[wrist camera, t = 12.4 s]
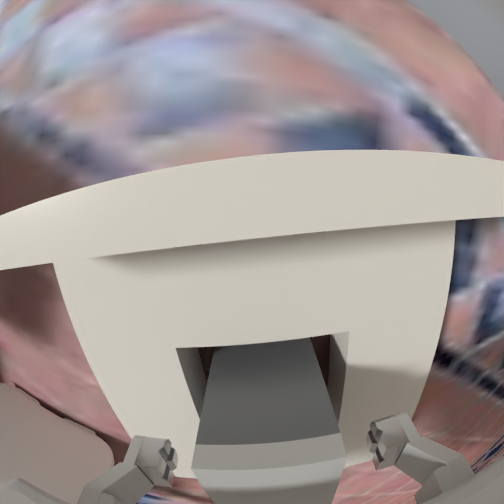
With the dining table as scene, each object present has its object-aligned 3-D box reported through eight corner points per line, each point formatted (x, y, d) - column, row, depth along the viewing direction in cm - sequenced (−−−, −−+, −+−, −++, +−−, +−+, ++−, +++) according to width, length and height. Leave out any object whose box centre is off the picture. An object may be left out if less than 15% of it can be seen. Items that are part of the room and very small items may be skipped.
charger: (305, 387, 15) (331, 503, 7) (230, 394, 15) (220, 512, 7) (305, 324, 13) (347, 456, 6) (217, 333, 14) (190, 468, 6)
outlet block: (383, 424, 16) (412, 492, 9) (165, 445, 17) (146, 516, 10) (417, 162, 11) (526, 165, 4) (78, 200, 12) (-28, 227, 5)
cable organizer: (129, 442, 17) (91, 550, 6) (133, 482, 20) (110, 559, 8) (2, 371, 16) (-56, 438, 5) (26, 428, 18) (-11, 486, 7)
